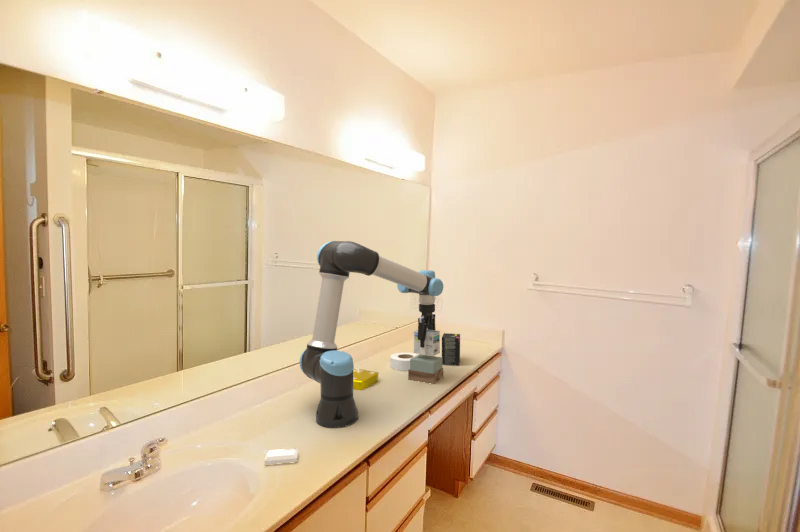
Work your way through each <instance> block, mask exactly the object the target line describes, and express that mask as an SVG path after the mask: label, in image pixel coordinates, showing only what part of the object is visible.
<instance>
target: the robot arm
mask: <svg viewBox="0 0 800 532" xmlns="http://www.w3.org/2000/svg"><path fill="white" fill-rule="evenodd" d="M316 260H317V263H318V265H319V271H318V272H319V273H318V274H319V275H320V276H321V283H320V291H319V296H318V302H317V308H316V315H315V320H314V327H313V330H312V331H313V332H312V338H311V339H310V341H308V342H307V344H306V348H305V349H304V350H303V351H302V353H301V355H300V356H299V367H300V368H299V369H301V372H302V373H303V374H304V375H305V376H306V377H308V378H309V379H311V380H313V381H315V382H316V383H319V384H320V399H319V402H318V406H317V409H316V413H315V422H316V423H317V424H319V426H321V427H325V428H343V427H347V426H351V425H352V423H353V424H354V423H355V422H357V421H358V419H359V409H358V408H357V404H356V401H355V398H354V389H353V369H354V368H355V366H354V360H353V356H352V355H351V354H350V353H348V352H346V351H341V350H338V345H337V344H336V343H335V341H336V340H335V339H336V334H337V329H338V320H339V315H340V314H339V313H340V309H341V302H342V297H343V290H344V284H345V281H346V280H348V279H350V273H355V274H361V275H365V276H372V275H373V276H375V277H379V278H381V279H383V280H386V281H389V282H391V283H394V284H396V285H397V289H398V291H399V293H402V294H408V293H409V294H411V293H412V294H418V303H419V304H418V312H419V313H421V316H420V317H418V319H417V322H418V323H417V327H418V328H417V330H418V340H420V354H422V355H423V354H424V355H426V340H425V338H426V331H427V330H436V313H435V311H436V304H435V303H436V298H437V297H438V296H440V295H441V294H442V293H443V290H444V283H443V281H442V279H440V278H436V272H435V271H434V270H433V269H432V270H428V269H426V270H423V269H422V270H421V269H420V270H419V271H416V270H413V269H411V268H410V267H409V268H408V267H406V266H405V265H402V264H399V263H398V262H394V261H393V260H390V259H388V258H385V257H382V256H381V255H380V253H379V252H378V251H376V250H373V249H370V248H368V247H367V246H364V245H362V244H360V243H357V242H355V241H350V240H346V241H345V240H341V241H340V240H332V241H328V242H326V243H323V244H322V245H321V246H320V248H319V249H318V251H317V253H316Z"/></svg>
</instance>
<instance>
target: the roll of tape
mask: <svg viewBox="0 0 800 532" xmlns="http://www.w3.org/2000/svg"><path fill="white" fill-rule="evenodd" d="M417 355H419V354H418V353H414V352H395V353H392V354H390V357H389V358H390V359H389V361H390V363H389V364H390V365H389V367H390V368H391V369H392V368H393V370H394V369H395V371H398V370H399V371H400V372H408V370H409V369H410V359H411V358H413V357H415V356H417Z"/></svg>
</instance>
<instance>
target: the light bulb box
mask: <svg viewBox="0 0 800 532" xmlns="http://www.w3.org/2000/svg"><path fill="white" fill-rule="evenodd" d="M440 332H441V331H440V330H436V329H435V330H427V331H426V338H425V340H426V355H429V356H437V355H438V354H440V353H441V343H440V342H441V339H440V338H441V335H440V334H441V333H440ZM413 353H415V354H418V355H419V354H420V340H418V329H414V331H413ZM422 355H424V354H422Z"/></svg>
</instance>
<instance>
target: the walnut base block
mask: <svg viewBox="0 0 800 532" xmlns="http://www.w3.org/2000/svg"><path fill="white" fill-rule="evenodd" d="M407 373H408V374H407V375H408V377H407V378H408V379H407V380H408V381H412V380H413V382H418V381H419V383H423V382H425V383H424V384H429V383H431V384H430V385H435V384H437V383H438V382H439V381H440V380H442V379H443V378H444V367H442V369H440V370H439V371H437V372H436V373H434V374H431V373H425V372H420V371H414V370H410V369H409V370H408V371H407ZM441 378H442V379H441ZM436 382H437V383H436Z"/></svg>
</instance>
